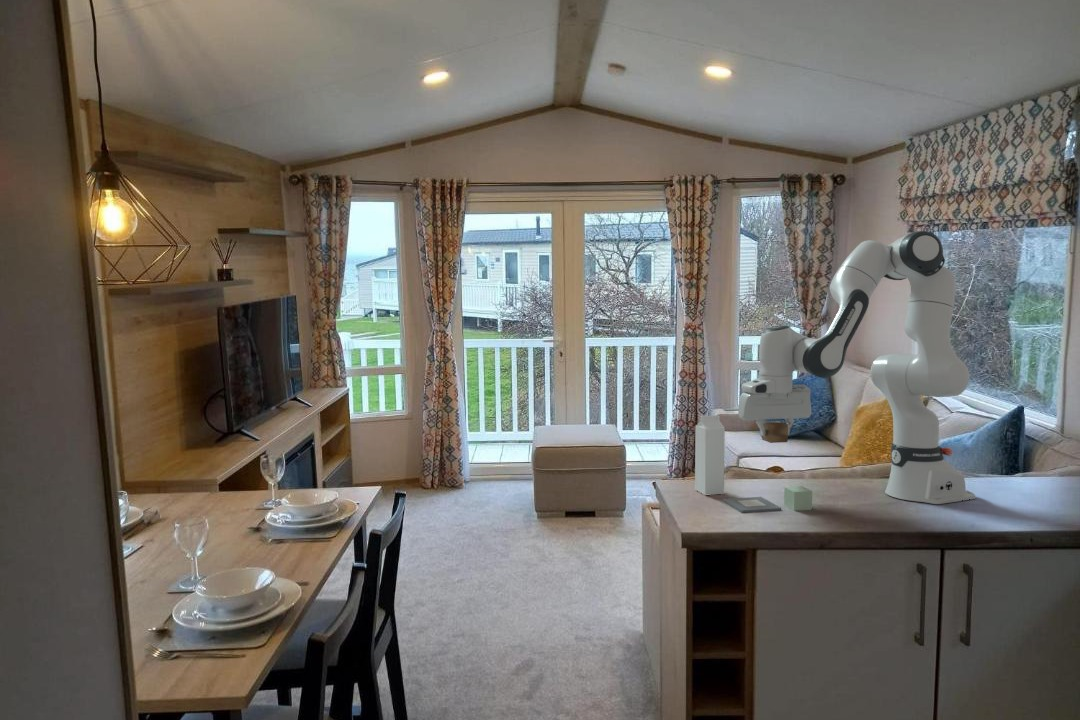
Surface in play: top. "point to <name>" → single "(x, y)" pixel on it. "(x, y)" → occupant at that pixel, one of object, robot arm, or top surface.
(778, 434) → the walnut block
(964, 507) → the top surface
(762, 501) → the coaster
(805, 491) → the green block
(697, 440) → the milk
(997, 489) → the top surface
